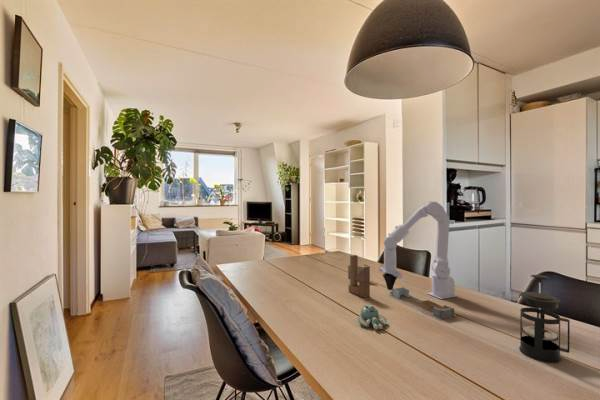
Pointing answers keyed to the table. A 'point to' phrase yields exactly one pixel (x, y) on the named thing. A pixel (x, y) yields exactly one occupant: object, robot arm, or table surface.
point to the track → (416, 307)
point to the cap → (400, 292)
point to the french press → (541, 327)
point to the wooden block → (359, 278)
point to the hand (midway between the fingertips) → (390, 289)
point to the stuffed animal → (371, 317)
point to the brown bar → (431, 305)
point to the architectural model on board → (358, 269)
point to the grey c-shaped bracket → (443, 312)
